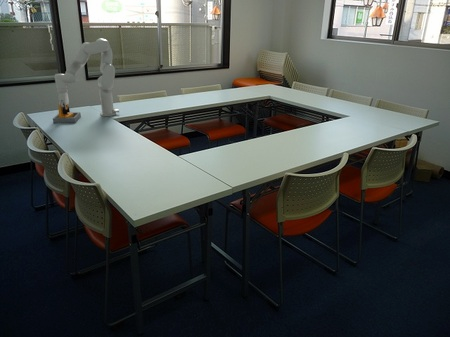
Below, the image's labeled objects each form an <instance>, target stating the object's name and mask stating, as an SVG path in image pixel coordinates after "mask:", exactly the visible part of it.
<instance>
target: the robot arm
mask: <svg viewBox="0 0 450 337" xmlns="http://www.w3.org/2000/svg"><path fill="white" fill-rule="evenodd" d="M96 54H101V55H100V56H101V57H100V66H99V71H100V73H102V75H100V76H99V77H98V78H97V87H98V91H99V99H100V106H101V113H100V116H102V117H112V116H113V117H114V116H115V115H117V113H120V110H119V109H115V107H114V101H113V100H114V99H113V91H112V89H113V88H114V84H115V78H116V77H115V75H116V68H115V66H114V65H113V55H114V54H113V50H112V47H111V45H110V42H109V40H107V39H105V38H98V39H96V40H95V41H92V42H87V41H86V42H83V43H82V44H81V46H80V48H79V49H78V51H77V53H76V55H75V57H74V58H73V60H72V61H71V63H70V64H69V65H68V67H67V69H66V71H64V72H65V73H55V74H54V82H55V86H56V92H57V96H58V97H57V98H58V106H59V105H60V106H61V107H62V111H63V114H67V112H68V113H71V111H70V105H69V103H70V100H69V95H68V94H69V93H68V92H69V89H68V84H75V83H77V81H78V76H77V74H78V72H79V70H80V69H82V68H83V67H84V66H85V65H86V64H87V62H88V60H89V58H90V56H92V55H96ZM67 104H68V109H66V105H67ZM64 106H65V107H64Z"/></svg>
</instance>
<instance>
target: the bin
mask: <svg viewBox="0 0 450 337" xmlns="http://www.w3.org/2000/svg"><path fill="white" fill-rule="evenodd" d="M71 113H74V116H73V117H72V118H59V113H57V114H56V115H55V116H54V117H53V118H52V123H53V124H77V123H78V121H80V119H81V118H82V114H81V112H78V111H77V112H75V111H74V112H72V111H71Z"/></svg>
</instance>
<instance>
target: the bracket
mask: <svg viewBox="0 0 450 337" xmlns="http://www.w3.org/2000/svg"><path fill="white" fill-rule="evenodd" d="M68 105H69V103H68V104H67V105H66V109H68ZM64 107H65V106H64ZM58 114H59V118H72V117H73V116H74V113H72V112H67V114H63V111H62V107H61V106H60V105H59V104H58Z"/></svg>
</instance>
